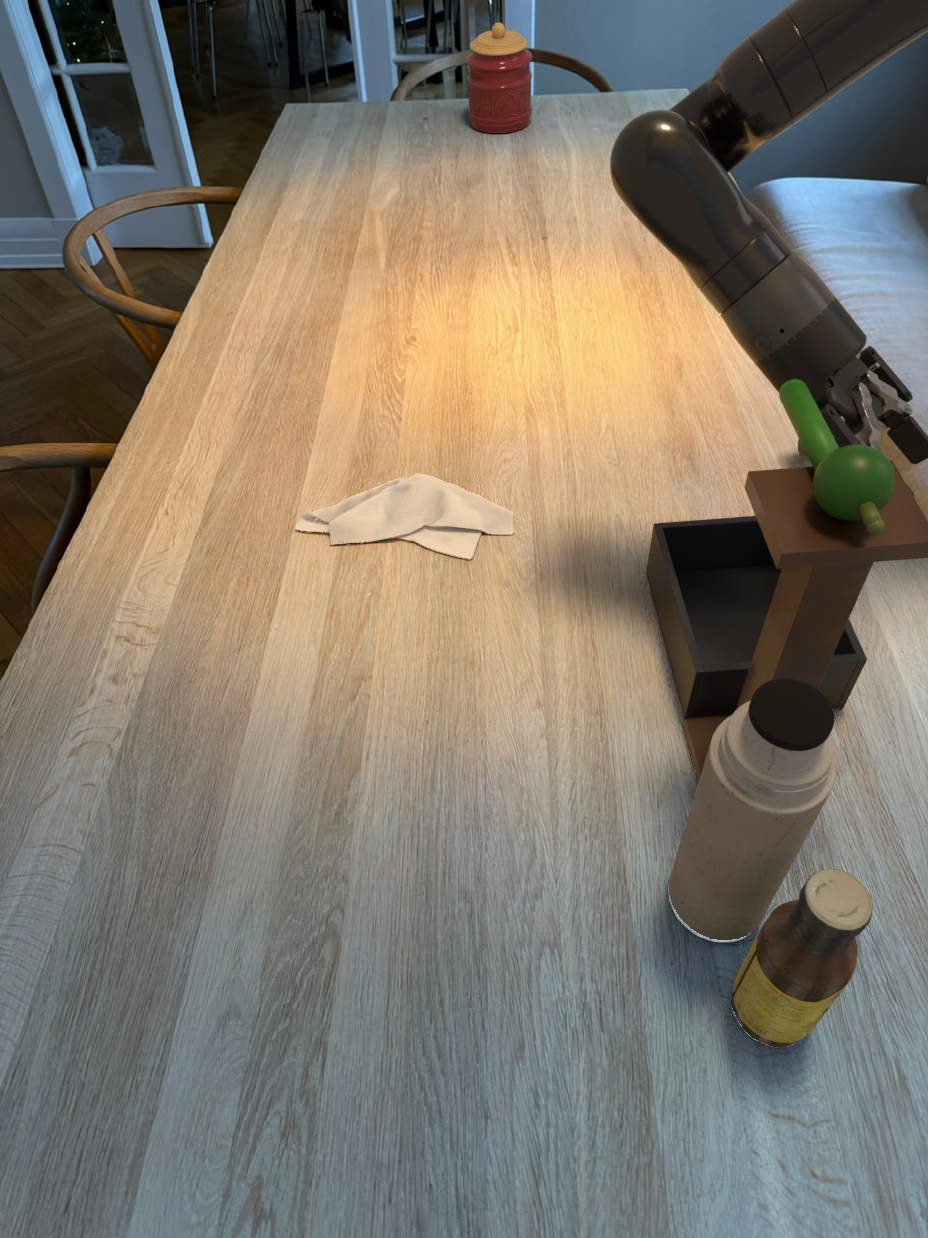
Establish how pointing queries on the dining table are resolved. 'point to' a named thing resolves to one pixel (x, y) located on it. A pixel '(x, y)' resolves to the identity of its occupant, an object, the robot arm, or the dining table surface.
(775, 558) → the shelf stand
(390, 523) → the cloth
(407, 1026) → the dining table surface
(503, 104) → the kitchen canister
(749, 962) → the sauce bottle
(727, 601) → the open box
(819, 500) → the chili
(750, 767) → the thermos bottle
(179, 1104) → the dining table surface
